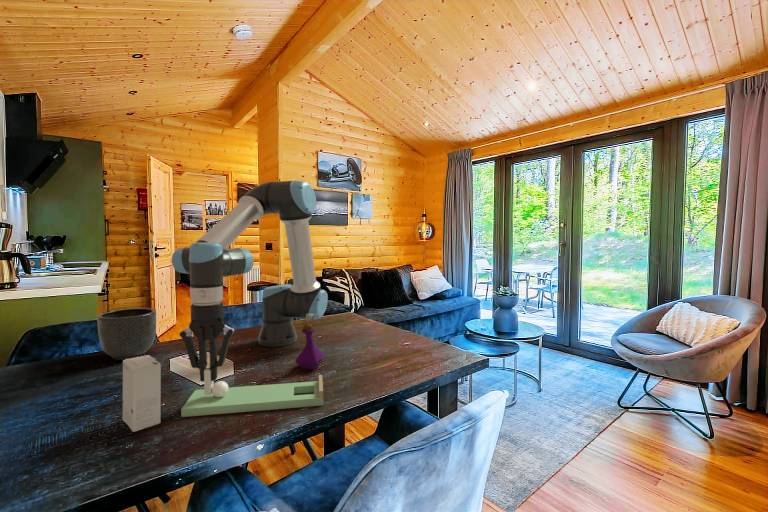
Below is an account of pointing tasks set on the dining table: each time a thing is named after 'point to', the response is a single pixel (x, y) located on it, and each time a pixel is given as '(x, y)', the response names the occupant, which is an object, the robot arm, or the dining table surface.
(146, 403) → the skincare box
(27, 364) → the dining table surface
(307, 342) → the perfume bottle
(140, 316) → the planter
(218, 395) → the ball
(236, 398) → the green
